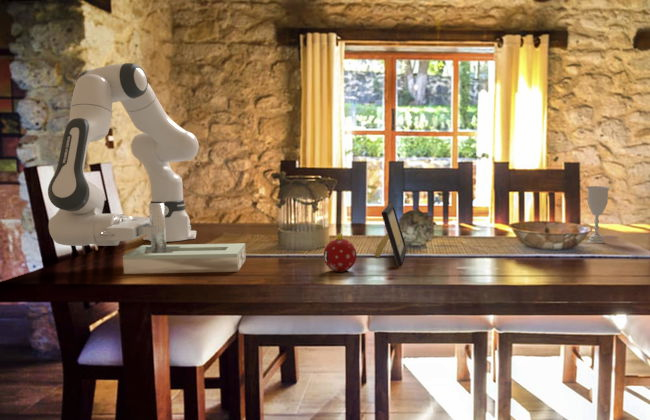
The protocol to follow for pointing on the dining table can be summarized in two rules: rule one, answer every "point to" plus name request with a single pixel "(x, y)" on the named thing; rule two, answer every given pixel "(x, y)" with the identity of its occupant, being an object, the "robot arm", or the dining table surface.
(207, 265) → the keyhole board
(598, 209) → the chalice
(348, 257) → the christmas ornament
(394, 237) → the picture frame
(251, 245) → the dining table surface
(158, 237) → the keyhole peg
